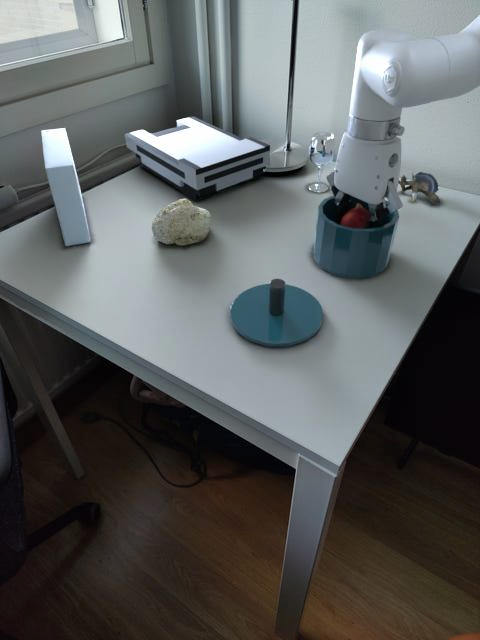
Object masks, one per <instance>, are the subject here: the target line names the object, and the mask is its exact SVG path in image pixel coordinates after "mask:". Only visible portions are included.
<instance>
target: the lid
mask: <svg viewBox="0 0 480 640" xmlns="http://www.w3.org/2000/svg"><path fill="white" fill-rule="evenodd" d="M323 311H324V310H323V308H322V304H321V303H320V302H319V300H318V299H317V298H316V297H315V296H314V295H313V294H311V293H310V292H309V291H307V290H305V289H302V288H300V287H297V286H295V285H291V284H287V283H286V281H285V280H284V279H281V278H273V279H270V281H269V283H264V284H259V285H255V286H252V287H250V288H247V289H245V290H244V291H242V292H241V293H239V294H238V295H237V296H236V297H235V299H234V300H233V301H232V303H231V305H230V310H229V317H230V321H231V324H232V326H233V328H234V329H235V330H236V332H238V333H239V334H240V335H241V336H242V337H243V338H245V339H247V340H249V341H251V342H254V343H256V344H259V345H262V346H263V345H264V346H269V347H287V346H293V345H298V344H300V343H303V342H305V341H307V340H309V339H311V338H312V337H313V336H314V335H315V334H316V333H318V331H319V330H320V328H321V326H322V324H323V319H324V312H323Z"/></svg>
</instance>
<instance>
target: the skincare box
mask: <svg viewBox="0 0 480 640" xmlns="http://www.w3.org/2000/svg"><path fill="white" fill-rule="evenodd" d="M40 135H41V145H42V153H43V161H44V169H45V173H46V177H47V181H48V185H49V188H50V192H51V196H52V200H53V203H54V206H55V210H56V214H57V218H58V222H59V225H60V229H61V233H62V238H63V241H64V245H65V247H70V246H76V245H82V244H88V243H90V242H92V240H91V235H90V230H89V223H88V219H87V214H86V209H85V204H84V200H83V196H82V191H81V186H80V183H79V182H80V181H79V177H78V173H77V170H76V165H75V161H74V158H73V153H72V148H71V145H70V141H69V138H68V134H67V130H66V127H63V128H62V127H61V128H53V129H52V128H51V129H42V130H40Z"/></svg>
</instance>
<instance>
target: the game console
mask: <svg viewBox="0 0 480 640" xmlns="http://www.w3.org/2000/svg"><path fill="white" fill-rule="evenodd" d="M124 140H125V145H126V148H127V149H129V150H130V151H132V152H133V153H134V154H135V157H136V158H137V159H139V160H140V164H141V165H140V166H141V168H143V169H145V170H146V171H148V172H150V173H152V174H153V175H155V176H156V177H158V178H159V179H160V180H162V181H164V182H166V184H169V185H170V186H172V187H174V188H175V189H177V190H178V191H180V192H181V193H183V194H184V195H186V196H187V197H189V198H191V199H192V200H194V201H196V202H197V201H199V200H202V199H204V198H208V197H210V196H213V195H216V194H218V192H219V191H220V190H223V189H226V188H228V187H231V186H233V185H236V184H241V185H243V184H246V183H249V182H251V181H253V180H257V179H259V178H261V176H262V175H263V174H266V173H265V172H263V169H265V168H266V169H267V166H269V165H271V164H270V163H271V144H269V143H266V142H264V141H261V140H259V139H257V138H254V137H251V136H250V137H247V138H243V137H240V136H238V135H236V134H233V133H232V132H229V131H227V130H224V129H222V128H220V127H218V126H216V125H213V124H211V123H209V122H206V121H204V120H202V119H200V118H197V117H196V116H189V117H185V118H181V119H177V120H176V126H175V127H172V128H171V127H170V128H167V129H164V130H159V131H157V132H153V133H152V132H148V131H146V130H144V129H139V130H135V131H131V132H128V133H125V134H124Z"/></svg>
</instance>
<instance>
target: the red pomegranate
mask: <svg viewBox="0 0 480 640" xmlns="http://www.w3.org/2000/svg"><path fill="white" fill-rule="evenodd" d="M369 218H370V213H369V212H368V211H367V210H366V209H364V208H363V207H362V206H361V204H360V203H357V204H356V208H353V209H351V210H349V211H348V212H347V213H346V214H345V215H344V216H343V218H342V220H341V223H340V225H342V226H346V227H350V228H359V229H365V227H366V221H367V220H368V219H369Z"/></svg>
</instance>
